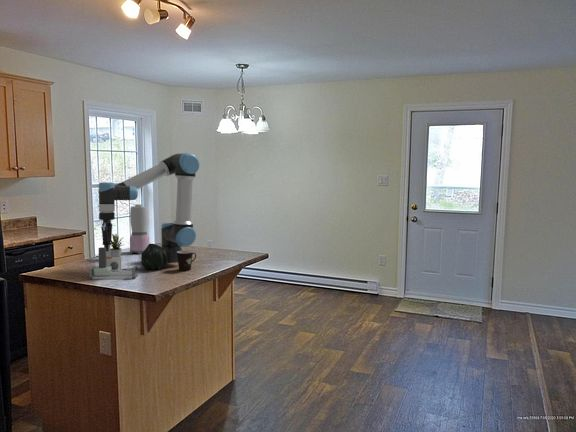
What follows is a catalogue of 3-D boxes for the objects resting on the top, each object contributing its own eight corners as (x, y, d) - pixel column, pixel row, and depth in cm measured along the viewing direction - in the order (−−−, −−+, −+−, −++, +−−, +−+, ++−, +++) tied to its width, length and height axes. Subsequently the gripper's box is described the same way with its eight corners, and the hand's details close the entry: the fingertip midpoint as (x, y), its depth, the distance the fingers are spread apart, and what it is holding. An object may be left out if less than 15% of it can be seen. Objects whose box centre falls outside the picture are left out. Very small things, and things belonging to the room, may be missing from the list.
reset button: (112, 263, 234) (112, 256, 234) (110, 265, 230) (110, 257, 230) (104, 263, 233) (104, 256, 233) (102, 265, 229) (102, 258, 229)
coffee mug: (179, 272, 238) (179, 253, 237) (175, 268, 246) (175, 251, 245) (200, 270, 244) (200, 252, 243) (195, 267, 251) (195, 249, 250)
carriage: (111, 272, 226) (111, 246, 224) (108, 275, 220) (108, 248, 218) (97, 272, 225) (96, 246, 223) (93, 275, 219) (93, 248, 217)
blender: (142, 254, 285) (142, 205, 282) (125, 253, 288) (125, 204, 285) (155, 250, 300) (155, 204, 297) (139, 249, 303) (138, 203, 300)
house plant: (98, 258, 271) (97, 231, 270) (120, 255, 280) (120, 230, 279) (106, 261, 261) (106, 234, 259) (129, 259, 270) (129, 232, 268)
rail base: (137, 275, 228) (137, 266, 228) (135, 278, 221) (135, 268, 221) (93, 276, 225) (93, 266, 224) (88, 279, 218) (88, 269, 218)
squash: (177, 257, 251) (161, 237, 251) (165, 263, 236) (147, 241, 237) (160, 272, 254) (144, 252, 255) (147, 279, 240) (130, 258, 240)
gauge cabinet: (121, 271, 236) (121, 256, 235) (118, 274, 230) (118, 259, 229) (103, 271, 235) (103, 257, 234) (100, 274, 228) (99, 259, 228)
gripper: (102, 210, 235) (103, 254, 237) (95, 213, 222) (96, 259, 224) (117, 211, 236) (117, 254, 238) (111, 213, 223) (111, 259, 225)
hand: (107, 256), depth 231 cm, fingers closed
